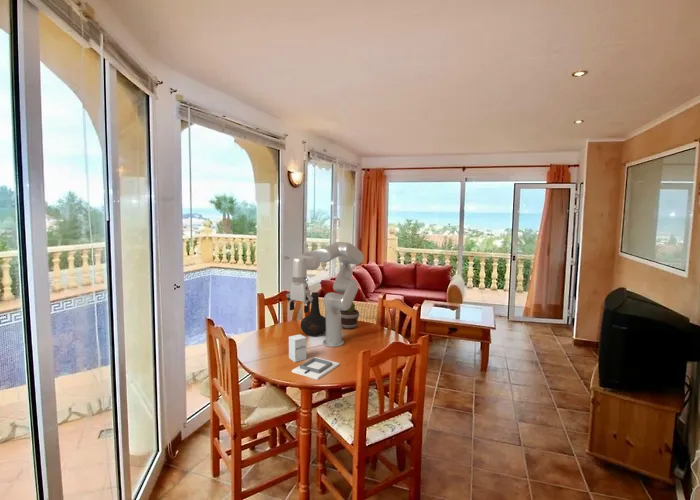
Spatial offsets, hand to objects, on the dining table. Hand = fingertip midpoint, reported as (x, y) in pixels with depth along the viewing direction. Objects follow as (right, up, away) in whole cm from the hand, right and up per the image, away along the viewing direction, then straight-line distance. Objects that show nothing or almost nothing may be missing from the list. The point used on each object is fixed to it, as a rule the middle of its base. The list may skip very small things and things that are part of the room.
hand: (299, 311), depth 206 cm
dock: (+10, -28, -9) cm, 31 cm away
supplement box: (-1, -27, +3) cm, 27 cm away
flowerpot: (+27, -21, +58) cm, 67 cm away
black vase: (+4, -22, +44) cm, 49 cm away
